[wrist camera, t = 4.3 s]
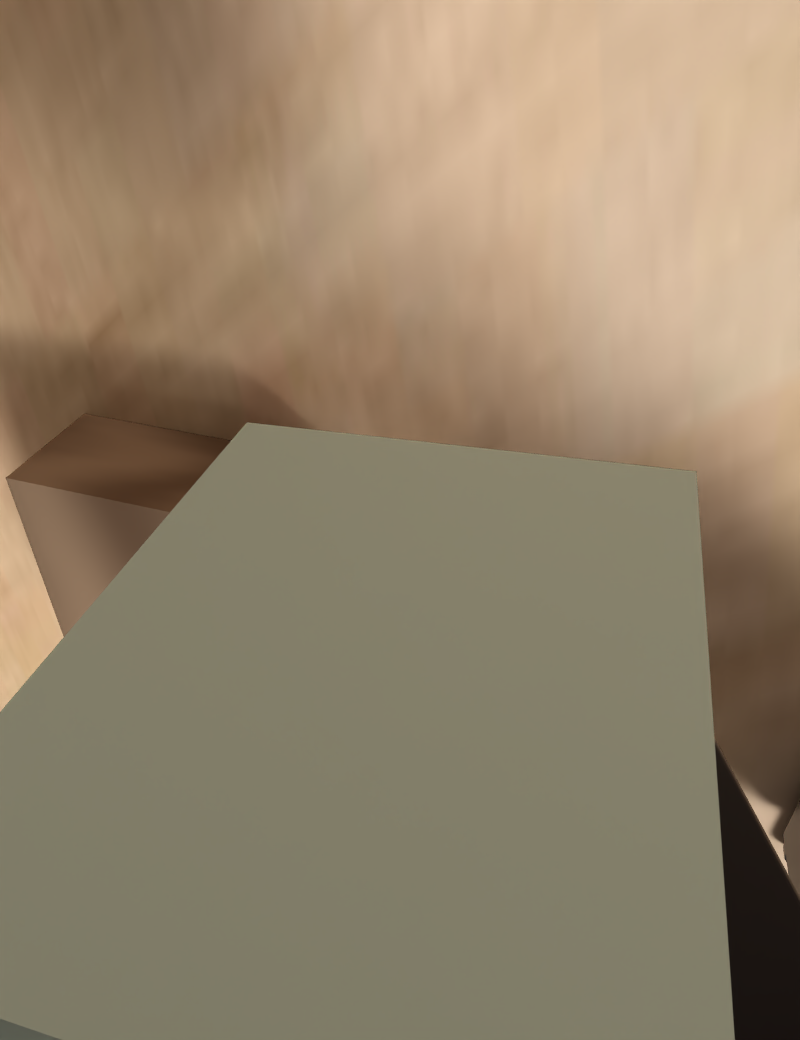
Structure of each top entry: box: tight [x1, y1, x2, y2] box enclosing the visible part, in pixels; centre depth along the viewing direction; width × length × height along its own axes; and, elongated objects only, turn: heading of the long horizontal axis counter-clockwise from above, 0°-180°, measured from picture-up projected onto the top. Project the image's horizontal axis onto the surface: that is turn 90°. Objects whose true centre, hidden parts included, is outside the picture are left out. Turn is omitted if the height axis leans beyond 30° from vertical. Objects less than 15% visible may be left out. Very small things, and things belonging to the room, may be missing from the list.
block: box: [6, 414, 231, 637], centre depth 24 cm, size 9×9×4 cm
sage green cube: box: [0, 422, 735, 1040], centre depth 7 cm, size 5×5×6 cm
